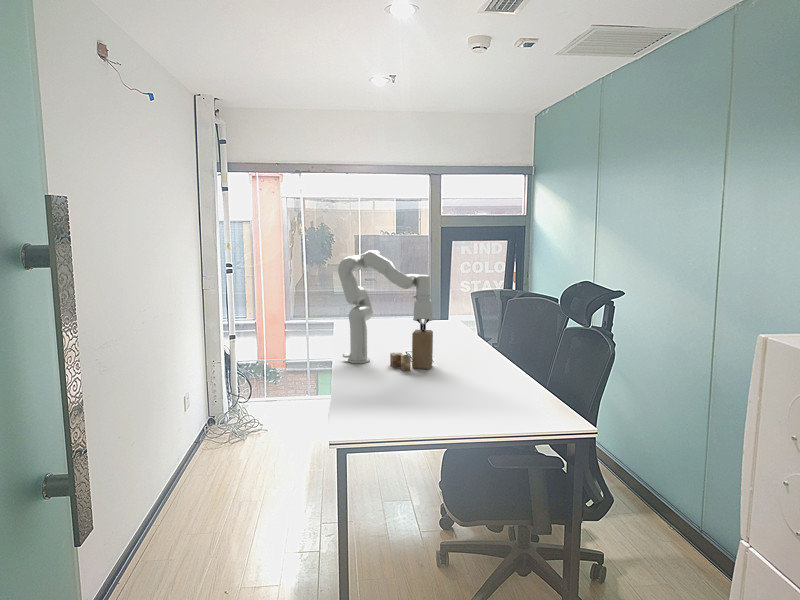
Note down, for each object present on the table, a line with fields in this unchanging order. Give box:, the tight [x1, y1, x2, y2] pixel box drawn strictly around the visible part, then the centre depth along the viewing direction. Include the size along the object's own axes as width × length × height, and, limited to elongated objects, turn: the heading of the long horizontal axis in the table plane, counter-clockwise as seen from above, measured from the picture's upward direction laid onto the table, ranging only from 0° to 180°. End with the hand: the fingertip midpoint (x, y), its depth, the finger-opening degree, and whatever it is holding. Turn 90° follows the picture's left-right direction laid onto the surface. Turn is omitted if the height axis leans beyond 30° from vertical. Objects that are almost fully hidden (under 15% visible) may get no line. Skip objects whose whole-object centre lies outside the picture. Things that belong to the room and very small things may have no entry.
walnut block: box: [389, 352, 404, 369], centre depth 309 cm, size 6×6×7 cm
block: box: [411, 329, 434, 370], centre depth 307 cm, size 10×10×20 cm
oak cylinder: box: [400, 354, 412, 372], centre depth 301 cm, size 5×5×8 cm
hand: (423, 331), depth 305 cm, fingers closed
